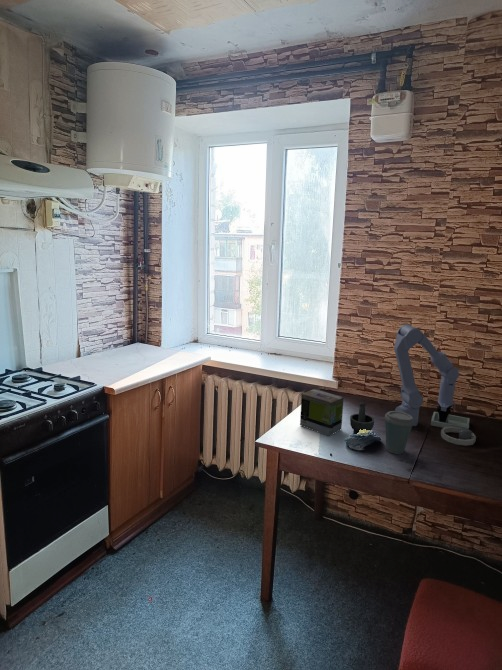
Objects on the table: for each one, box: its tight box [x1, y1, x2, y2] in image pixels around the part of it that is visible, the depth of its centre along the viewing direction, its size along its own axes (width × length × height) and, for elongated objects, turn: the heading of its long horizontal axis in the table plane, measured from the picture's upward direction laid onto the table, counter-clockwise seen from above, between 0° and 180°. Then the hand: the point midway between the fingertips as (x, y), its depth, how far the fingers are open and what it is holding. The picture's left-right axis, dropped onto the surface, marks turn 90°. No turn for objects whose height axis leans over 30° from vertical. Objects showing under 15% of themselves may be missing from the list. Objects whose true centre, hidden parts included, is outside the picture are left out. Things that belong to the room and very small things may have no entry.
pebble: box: [458, 428, 473, 440], centre depth 178 cm, size 4×4×4 cm
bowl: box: [440, 427, 477, 447], centre depth 180 cm, size 12×12×3 cm
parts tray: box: [430, 411, 470, 430], centre depth 193 cm, size 15×12×3 cm
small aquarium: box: [299, 388, 344, 437], centre depth 187 cm, size 15×10×15 cm, turn 48°
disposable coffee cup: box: [384, 410, 414, 455], centre depth 168 cm, size 11×11×15 cm
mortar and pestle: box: [349, 402, 375, 435], centre depth 183 cm, size 11×9×12 cm
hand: (442, 421), depth 195 cm, fingers open, 4 cm apart
